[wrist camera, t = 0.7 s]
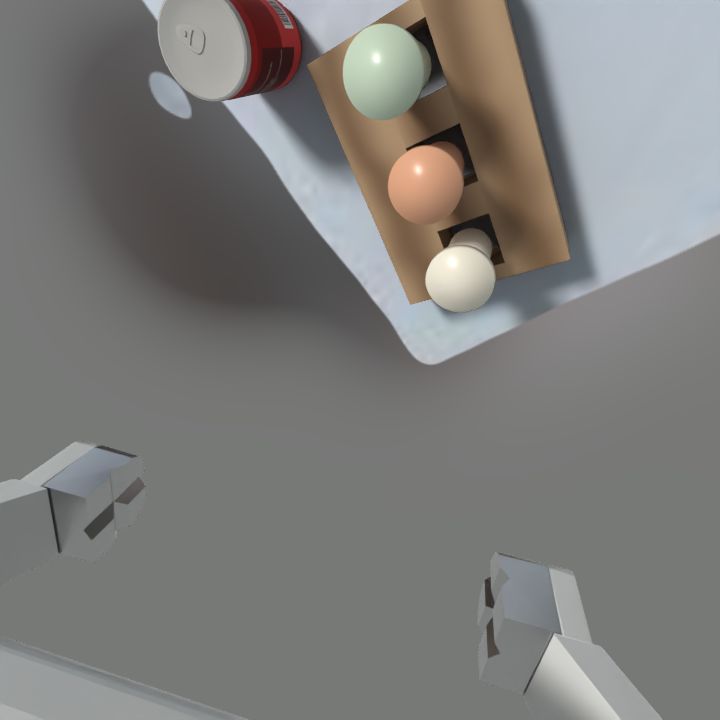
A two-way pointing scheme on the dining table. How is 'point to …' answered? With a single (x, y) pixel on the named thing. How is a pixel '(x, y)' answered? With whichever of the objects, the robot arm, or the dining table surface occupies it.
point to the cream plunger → (462, 272)
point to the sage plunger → (385, 71)
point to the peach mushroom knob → (427, 182)
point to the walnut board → (482, 135)
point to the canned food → (229, 46)
